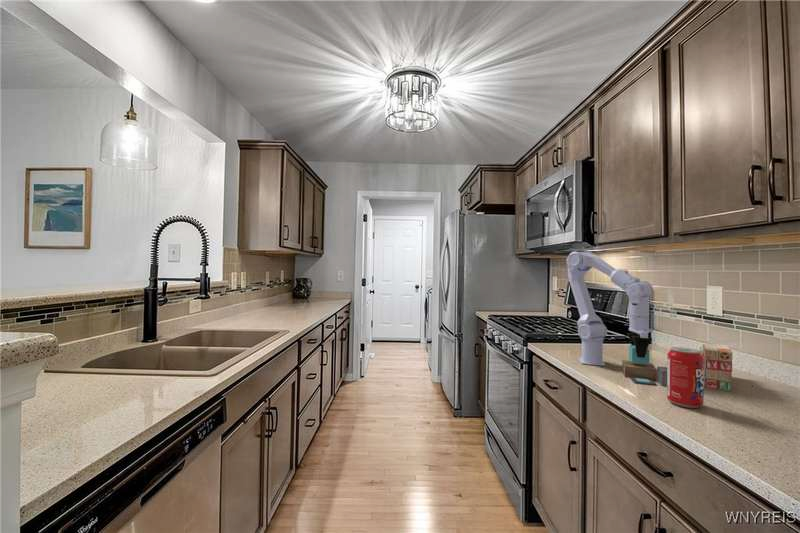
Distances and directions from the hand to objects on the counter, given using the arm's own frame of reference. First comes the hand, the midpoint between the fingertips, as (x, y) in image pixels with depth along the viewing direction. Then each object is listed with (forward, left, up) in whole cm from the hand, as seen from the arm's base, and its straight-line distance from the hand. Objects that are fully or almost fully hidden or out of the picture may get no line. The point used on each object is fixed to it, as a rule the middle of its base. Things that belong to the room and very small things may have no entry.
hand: (638, 355), depth 126 cm
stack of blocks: (-3, +22, -7) cm, 24 cm away
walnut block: (0, 0, -7) cm, 7 cm away
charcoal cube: (+8, +7, -7) cm, 12 cm away
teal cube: (0, 0, -2) cm, 2 cm away
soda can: (+27, +5, -7) cm, 28 cm away
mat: (+8, 0, -7) cm, 11 cm away
